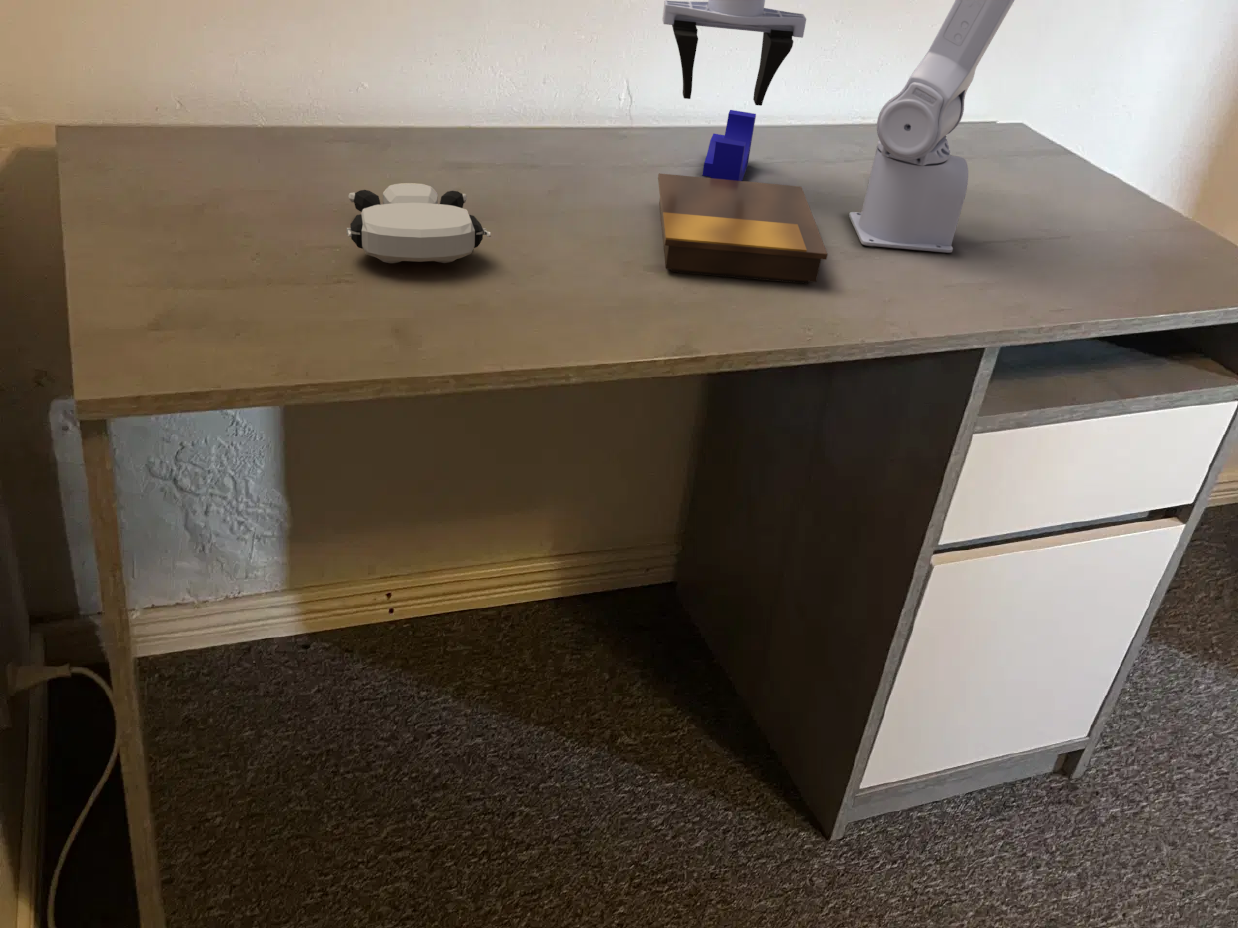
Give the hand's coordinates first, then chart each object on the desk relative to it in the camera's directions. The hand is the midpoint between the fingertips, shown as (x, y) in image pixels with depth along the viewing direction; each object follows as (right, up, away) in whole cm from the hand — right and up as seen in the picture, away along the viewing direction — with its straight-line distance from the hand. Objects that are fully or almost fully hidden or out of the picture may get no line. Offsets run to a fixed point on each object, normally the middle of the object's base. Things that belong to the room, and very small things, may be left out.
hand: (722, 99), depth 122 cm
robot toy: (-30, -19, -16) cm, 39 cm away
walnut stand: (0, -17, -9) cm, 19 cm away
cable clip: (+1, -7, +7) cm, 10 cm away
